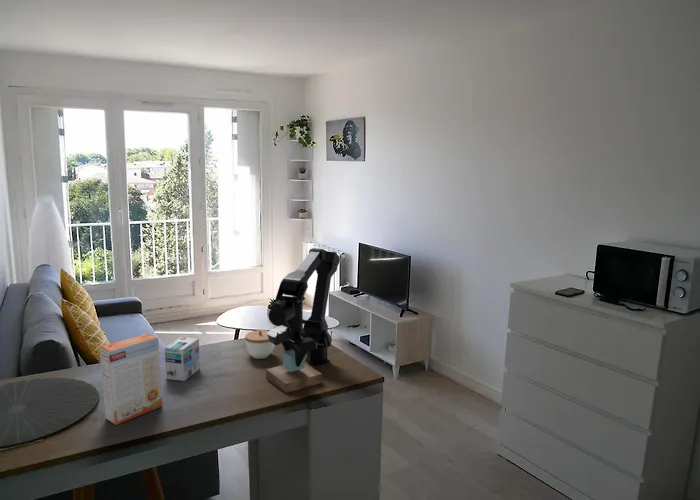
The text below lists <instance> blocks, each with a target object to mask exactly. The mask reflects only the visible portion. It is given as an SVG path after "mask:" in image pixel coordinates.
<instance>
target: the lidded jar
mask: <svg viewBox="0 0 700 500" xmlns="http://www.w3.org/2000/svg"><path fill="white" fill-rule="evenodd" d="M269 331H270V330H263V329H259V330H252V331H249V332H247V333H246V334H245V335H244V339H245V341H244V342H245V347H246V351H247V352H248V354H249V355H250V356H251V357H252V358H254V359H267V358H268V357H269V356H270V355H271V354H272V352H273V351H274V350H275V347H276V345H274V344H273V343H271V342H270V340H269V338H268V335H267V332H269Z"/></svg>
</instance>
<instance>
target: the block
mask: <svg viewBox="0 0 700 500" xmlns="http://www.w3.org/2000/svg"><path fill="white" fill-rule="evenodd" d="M304 363H305V358H304V359H303V361H302V363H301V365H300V366H299V367H297V366H296V361H295V352H294V351H293V350H288V351H282V365H283V367H284V368H286V369H287V370H289V371H290V372H292V371H296V370H299V369H303V368H304Z"/></svg>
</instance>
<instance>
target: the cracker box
mask: <svg viewBox="0 0 700 500" xmlns="http://www.w3.org/2000/svg"><path fill="white" fill-rule="evenodd" d="M159 349H160V347H159V337H157V336H155V335H152V334H150V333H145V334H140V335H138V336H133V337H130V338H127V339H124V340H123V339H122V340H120V341H116V342H112V343H108V344H105V345H101V346H99V358H100V367H101V368H100V370H101V379H102V381H101V382H102V390H103V399H104V400H103V402H104V413H105V419H106V420H108V421H109V422H110V423H112V424H113V425H115V426H118V425H119V424H123V423H124V422H127V421H130V420H131V419H135V418H137V417H139V416H142V415H145V414H147V413H149V412H152V411H155V410H157V409H159V408H162V407H163V395H162V394H163V393H162V378H161V362H160V350H159Z"/></svg>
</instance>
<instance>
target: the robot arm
mask: <svg viewBox="0 0 700 500" xmlns="http://www.w3.org/2000/svg"><path fill="white" fill-rule="evenodd" d="M340 258H341V257H340V255H339V254H338V253H337V252H336V251H328V250H325V249H324V248H319V247H318V248H316V247H313V248H310V249H309V250H308V254H307V255H306V257H304V259H303V260H302V262H301V263H300V265H298V267H297V269H296V270H295V271H292V272H289V273H287V275H286V276H284V277H283V278H282V280H281V281H280V284H279V287H278V289H277V293H276V296H275V298H274V300H275V303H274V307H272V308H271V309H270V310H269V313H268V319H269V321H270V323H271V324H272V325H274V327H273V328H272V329H271V330H268V331H269V332H267V335H268V338H269V340H270V342H271V343H273V344H274V345H275V346H279V345H280V344H281V345H282V347H283V350H284V351H288V350H293V351H294V352H295V361H296V366H297V367H299V366H300V365H301V363H302V361H303V359H304V361H306V362H308V363H309V364H311V365H313V366H318V365H323V364H326V363H329V362H330V359H329V358H328V347H329V348H330V347H331V345H332V342H333V341H332V339H333V338H332V336H331V335H330V333H329V330H328V329H329V325H328V323H327V320H326V314H327V313H326V312H327V306H328V300H329V299H328V298H329V293H330V286H331V280H332V277H333V275H334V274H336V273H337V271H338V266H339V264H340V261H341V259H340ZM315 272H316V274H317V277H316V284H315V289H314V295H313V302H312V308H311V312H310V316H309V318H308V319H304V318H303V315H304V314H303V309H304V308H303V307H304V306H303V304H304V303H303V301H305V300H306V297H305V294H306V293H307V290H308V288H309V286H308V285H309V284H308V281H309V280H310V278H311V277H312V276H313V274H314V273H315ZM276 301H277V302H276ZM284 351H283V352H284Z"/></svg>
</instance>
